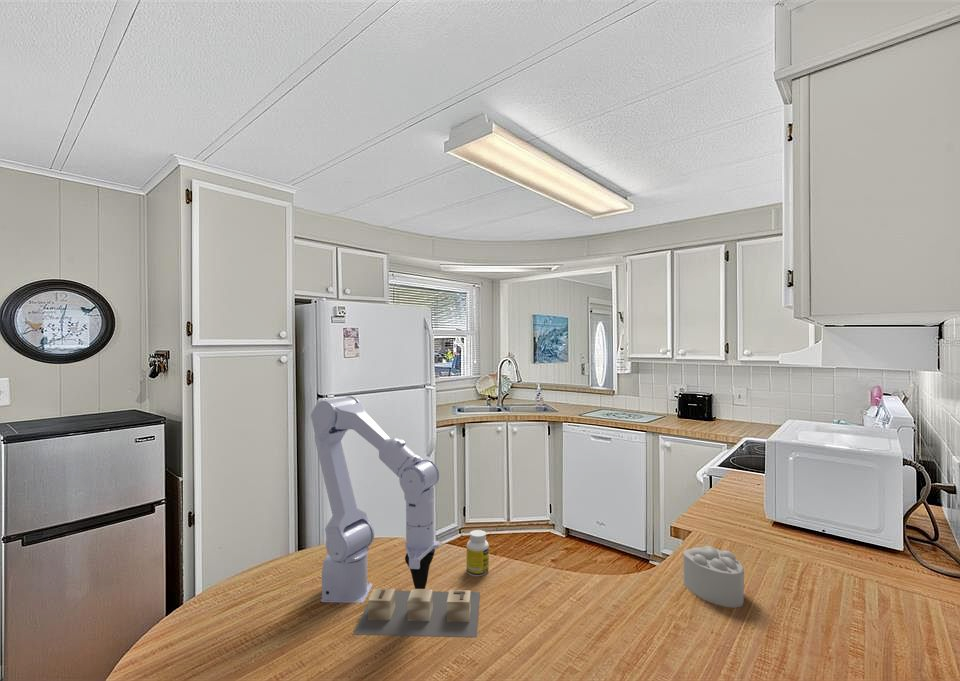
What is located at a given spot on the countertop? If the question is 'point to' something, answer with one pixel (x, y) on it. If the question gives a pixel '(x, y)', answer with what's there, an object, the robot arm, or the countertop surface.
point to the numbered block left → (381, 604)
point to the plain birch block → (420, 605)
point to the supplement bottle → (477, 553)
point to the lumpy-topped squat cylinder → (714, 576)
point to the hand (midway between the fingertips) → (420, 587)
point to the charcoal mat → (421, 628)
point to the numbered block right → (459, 606)
